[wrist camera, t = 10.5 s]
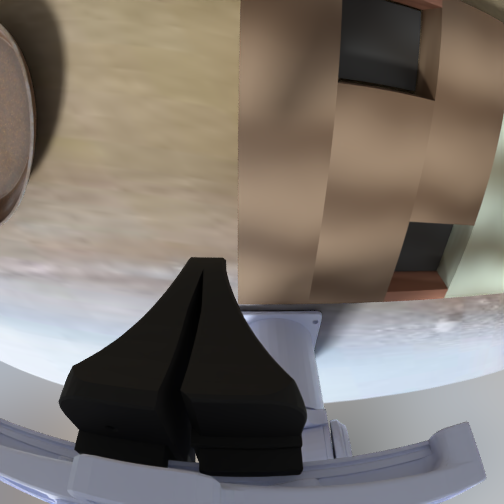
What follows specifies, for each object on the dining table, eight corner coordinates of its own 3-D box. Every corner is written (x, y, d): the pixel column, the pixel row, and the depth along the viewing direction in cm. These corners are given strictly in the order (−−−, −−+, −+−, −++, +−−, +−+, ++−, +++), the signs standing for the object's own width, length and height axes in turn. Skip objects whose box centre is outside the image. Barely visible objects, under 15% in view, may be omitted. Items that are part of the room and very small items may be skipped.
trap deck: (508, 276, 25) (519, 291, 23) (238, 281, 25) (238, 304, 23) (565, 74, 13) (584, 80, 11) (242, -34, 12) (242, -46, 10)
